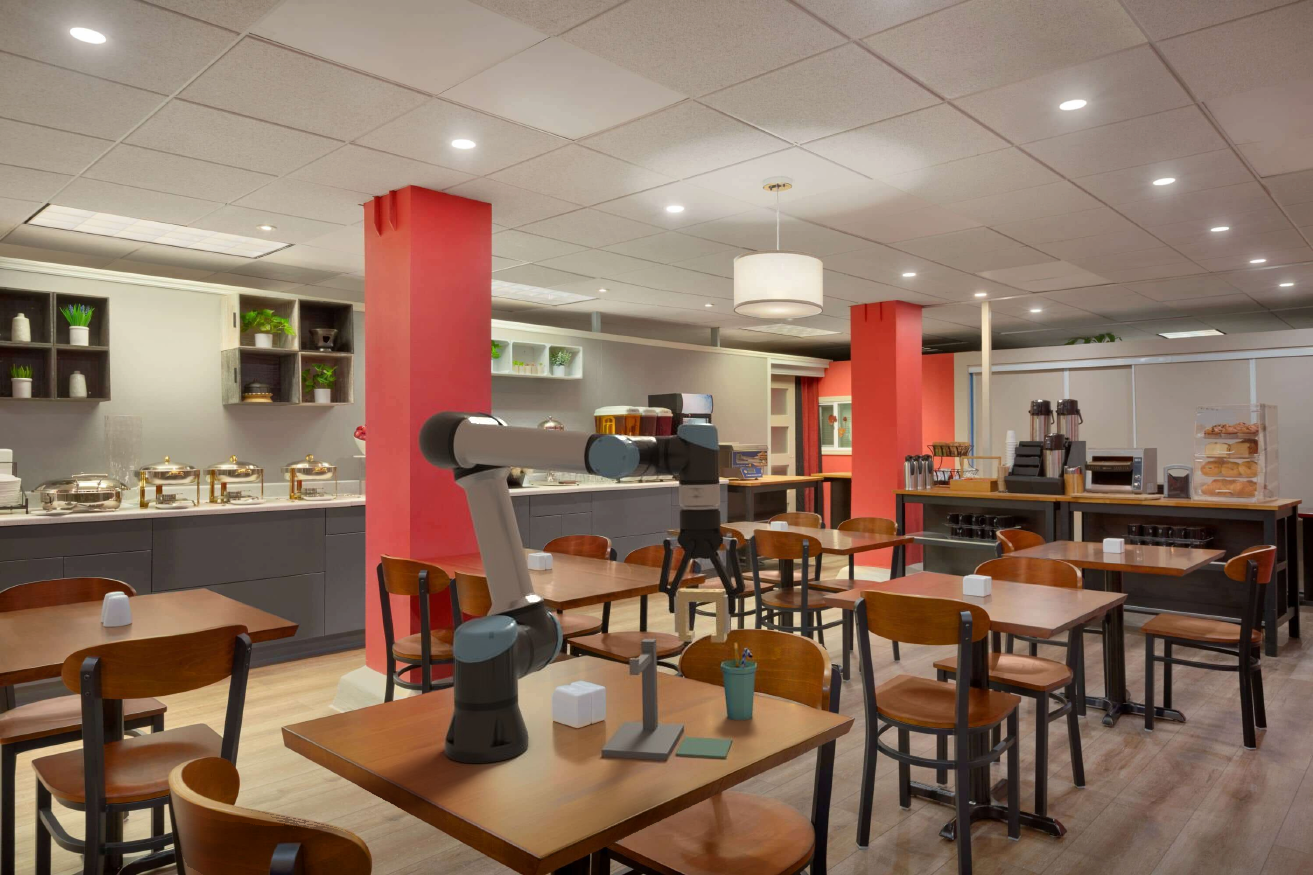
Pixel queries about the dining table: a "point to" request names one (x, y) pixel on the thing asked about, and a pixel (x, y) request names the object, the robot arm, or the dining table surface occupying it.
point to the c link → (700, 596)
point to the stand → (645, 717)
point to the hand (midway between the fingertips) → (702, 631)
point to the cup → (739, 685)
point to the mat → (704, 747)
